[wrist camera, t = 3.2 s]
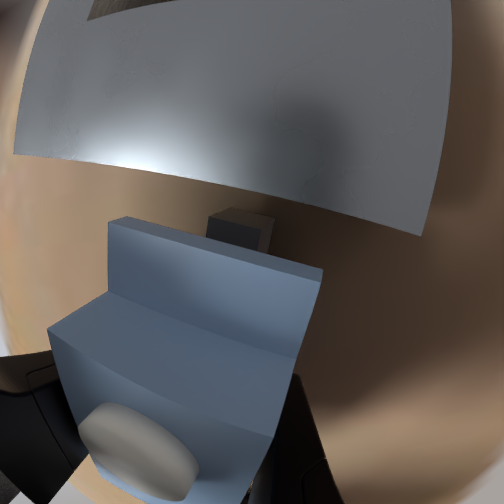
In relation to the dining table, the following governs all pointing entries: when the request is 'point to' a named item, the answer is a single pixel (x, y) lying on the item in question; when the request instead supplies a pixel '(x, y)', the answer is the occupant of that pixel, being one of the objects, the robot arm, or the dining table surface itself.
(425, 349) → the dining table surface
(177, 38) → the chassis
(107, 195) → the dining table surface
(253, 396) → the servo
